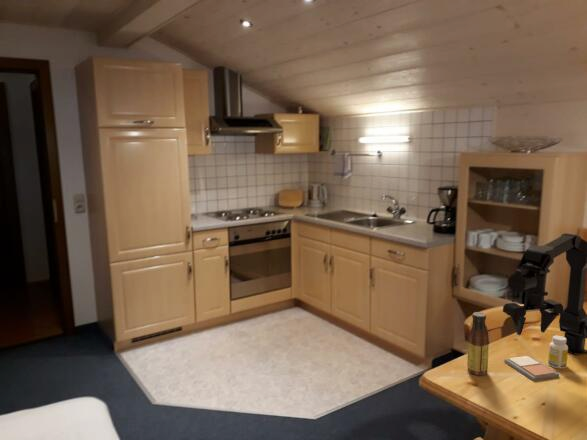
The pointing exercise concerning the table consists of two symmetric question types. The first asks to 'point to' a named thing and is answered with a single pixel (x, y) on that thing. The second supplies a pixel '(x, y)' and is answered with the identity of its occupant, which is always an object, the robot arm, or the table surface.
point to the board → (531, 368)
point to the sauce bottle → (478, 345)
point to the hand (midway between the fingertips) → (530, 333)
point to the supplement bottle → (558, 352)
